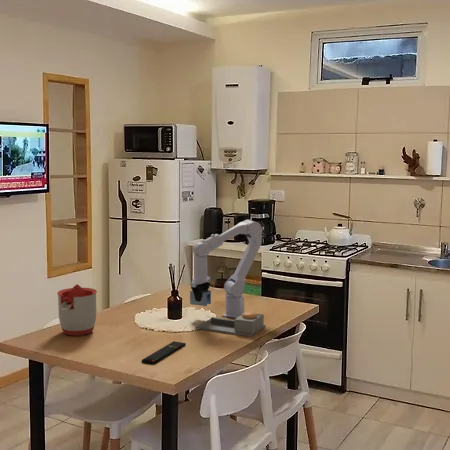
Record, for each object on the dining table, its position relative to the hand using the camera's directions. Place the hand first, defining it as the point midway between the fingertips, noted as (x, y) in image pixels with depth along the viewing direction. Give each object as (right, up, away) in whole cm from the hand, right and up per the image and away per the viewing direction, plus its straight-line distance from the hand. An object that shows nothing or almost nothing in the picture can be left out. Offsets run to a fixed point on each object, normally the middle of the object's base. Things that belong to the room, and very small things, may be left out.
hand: (200, 299), depth 276 cm
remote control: (-12, -15, -46) cm, 50 cm away
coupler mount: (+13, -10, -13) cm, 21 cm away
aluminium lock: (0, -2, 0) cm, 2 cm away
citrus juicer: (-50, -11, -22) cm, 55 cm away
